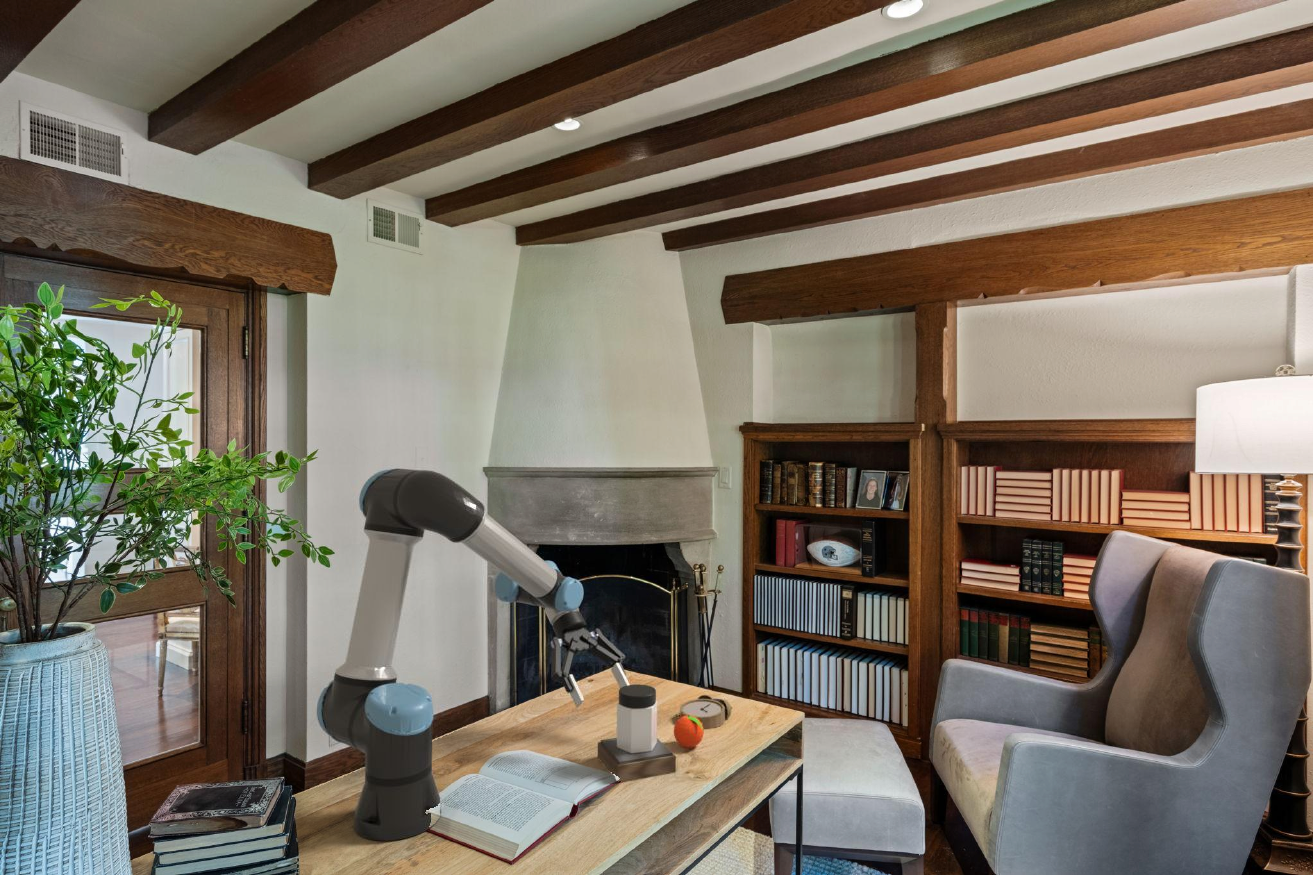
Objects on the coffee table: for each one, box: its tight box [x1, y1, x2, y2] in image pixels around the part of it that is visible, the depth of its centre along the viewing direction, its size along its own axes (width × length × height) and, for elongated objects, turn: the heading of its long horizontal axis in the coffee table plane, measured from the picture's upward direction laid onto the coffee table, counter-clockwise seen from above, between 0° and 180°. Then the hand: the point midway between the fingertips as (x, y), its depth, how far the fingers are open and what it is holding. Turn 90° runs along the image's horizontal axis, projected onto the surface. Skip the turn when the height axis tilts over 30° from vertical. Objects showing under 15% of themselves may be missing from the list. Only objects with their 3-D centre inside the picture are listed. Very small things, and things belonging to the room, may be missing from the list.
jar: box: [616, 683, 658, 754], centre depth 160 cm, size 9×8×12 cm
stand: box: [597, 737, 677, 783], centre depth 160 cm, size 13×13×4 cm
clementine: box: [673, 715, 705, 749], centre depth 169 cm, size 8×7×7 cm
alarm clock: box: [676, 694, 733, 730], centre depth 187 cm, size 11×5×15 cm
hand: (604, 696), depth 168 cm, fingers open, 13 cm apart
